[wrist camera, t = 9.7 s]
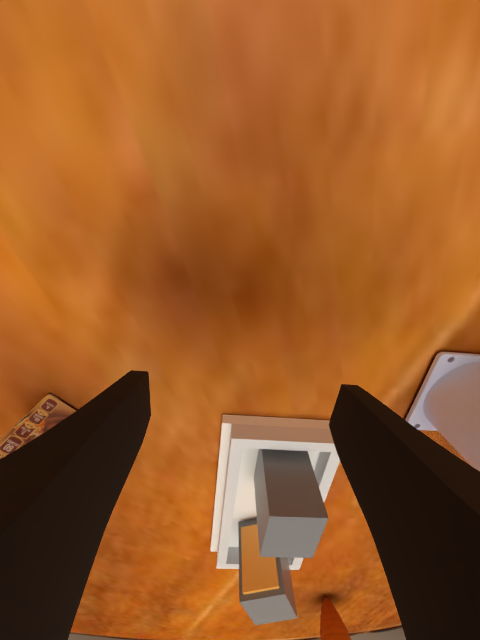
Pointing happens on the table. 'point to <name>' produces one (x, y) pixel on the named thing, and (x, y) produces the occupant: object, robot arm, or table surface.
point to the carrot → (332, 623)
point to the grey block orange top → (263, 580)
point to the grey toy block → (287, 504)
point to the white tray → (239, 468)
